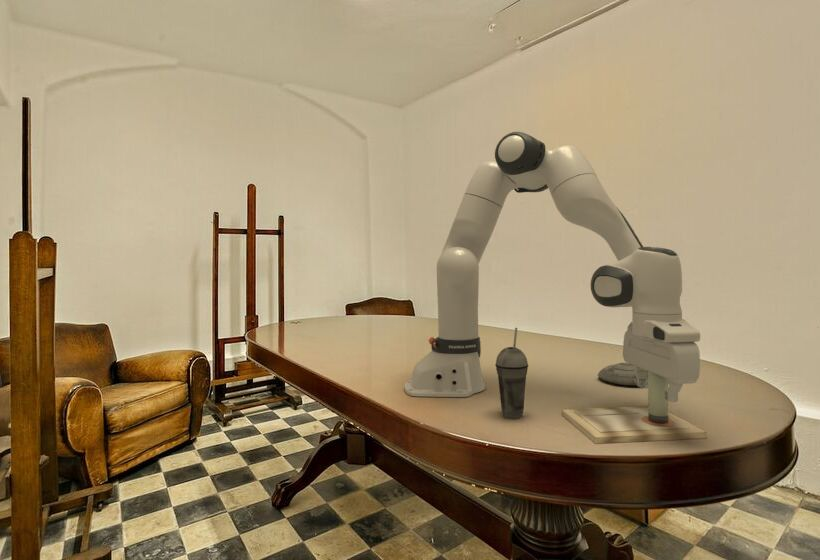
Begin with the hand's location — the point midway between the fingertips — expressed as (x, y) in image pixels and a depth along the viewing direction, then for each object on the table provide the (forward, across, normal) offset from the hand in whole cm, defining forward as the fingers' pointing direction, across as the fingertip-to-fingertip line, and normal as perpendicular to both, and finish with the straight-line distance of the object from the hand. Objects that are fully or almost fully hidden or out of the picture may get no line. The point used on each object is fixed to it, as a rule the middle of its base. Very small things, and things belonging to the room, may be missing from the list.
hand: (656, 393), depth 91 cm
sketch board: (+7, -2, -5) cm, 9 cm away
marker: (+6, 0, 0) cm, 6 cm away
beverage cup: (+7, -11, -27) cm, 30 cm away
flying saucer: (+8, -35, +13) cm, 38 cm away
